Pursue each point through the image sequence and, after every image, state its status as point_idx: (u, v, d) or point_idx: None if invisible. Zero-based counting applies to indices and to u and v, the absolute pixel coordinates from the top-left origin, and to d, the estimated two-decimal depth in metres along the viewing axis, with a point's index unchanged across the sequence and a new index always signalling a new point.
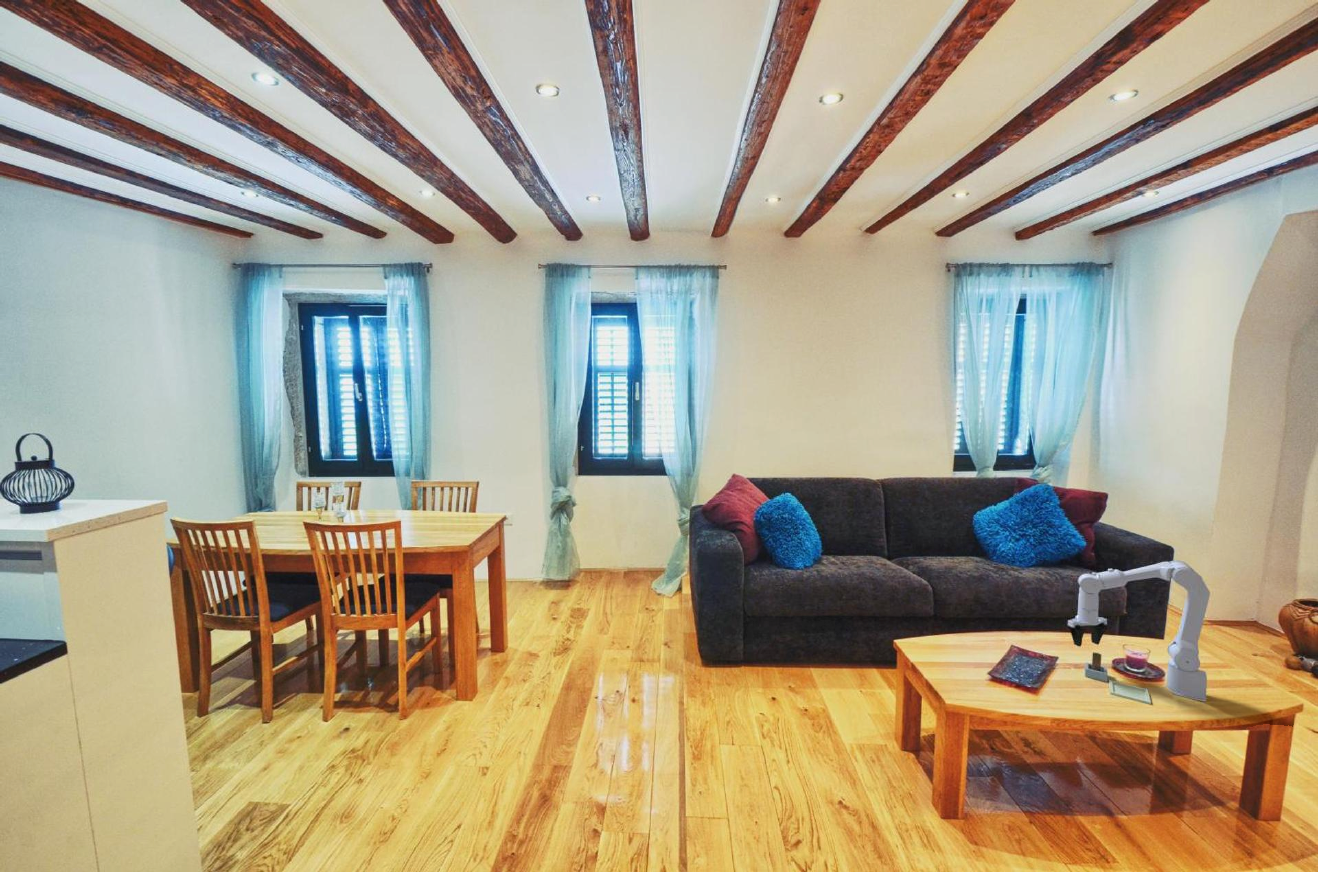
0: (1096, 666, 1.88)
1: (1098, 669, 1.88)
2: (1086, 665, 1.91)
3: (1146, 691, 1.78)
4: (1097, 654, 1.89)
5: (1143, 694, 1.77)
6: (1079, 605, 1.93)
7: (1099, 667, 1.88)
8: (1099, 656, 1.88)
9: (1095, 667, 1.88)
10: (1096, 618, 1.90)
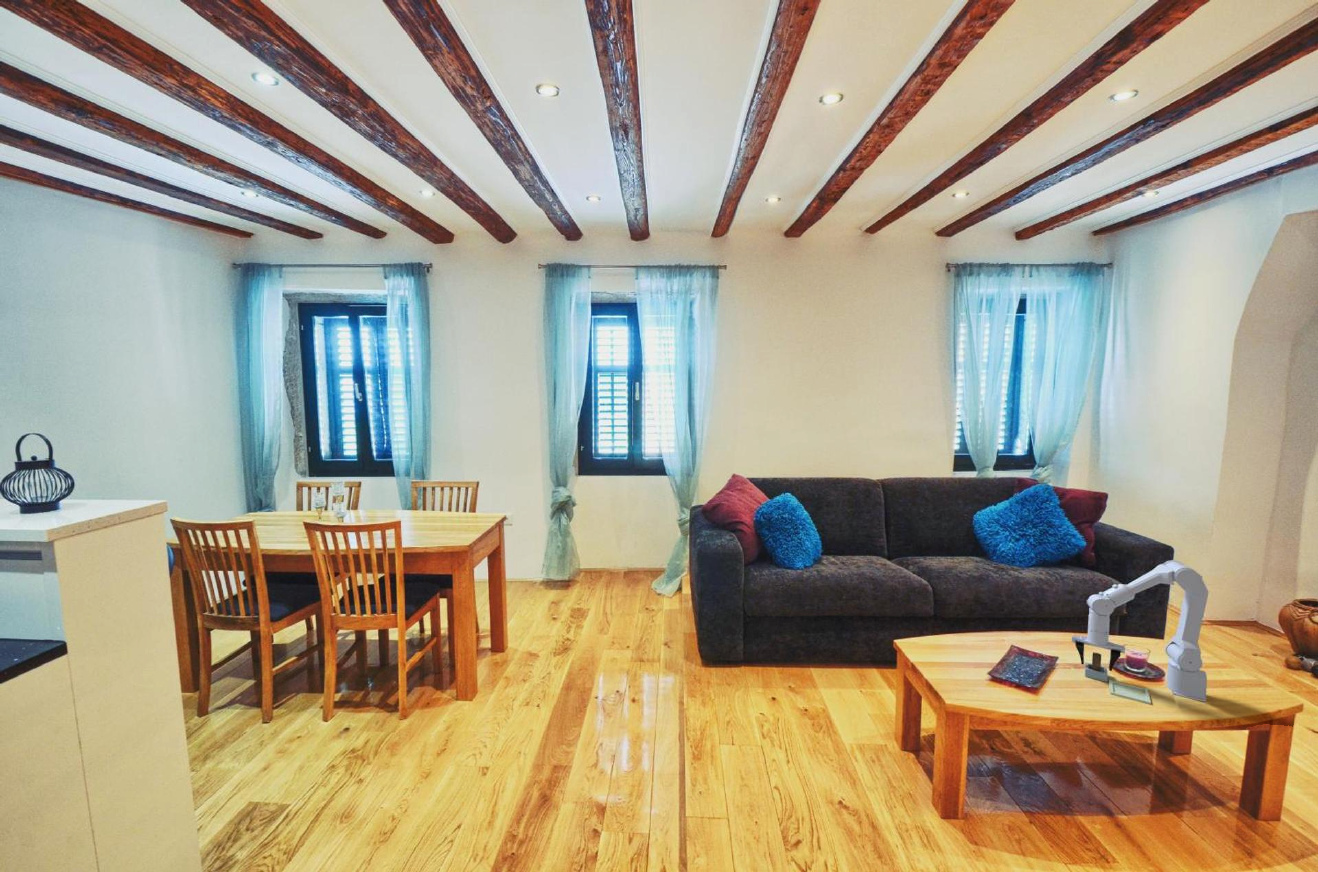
0: (1096, 666, 1.88)
1: (1098, 669, 1.88)
2: (1086, 665, 1.91)
3: (1146, 691, 1.78)
4: (1097, 654, 1.89)
5: (1143, 694, 1.77)
6: (1090, 627, 1.88)
7: (1099, 667, 1.88)
8: (1099, 656, 1.88)
9: (1095, 667, 1.88)
10: (1100, 640, 1.86)
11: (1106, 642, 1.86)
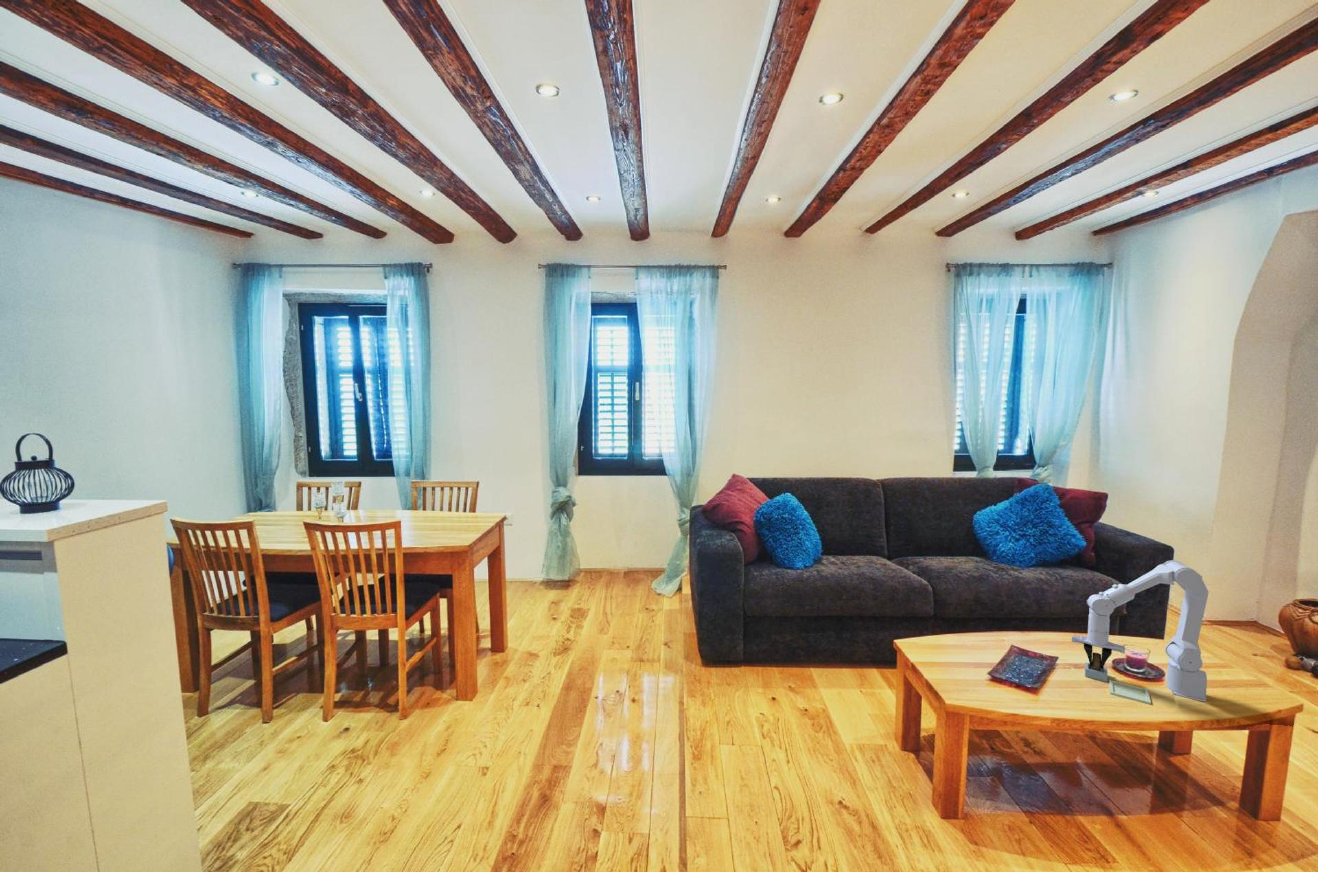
0: (1096, 666, 1.88)
1: (1098, 669, 1.88)
2: (1086, 665, 1.91)
3: (1146, 691, 1.78)
4: (1097, 654, 1.89)
5: (1143, 694, 1.77)
6: (1090, 627, 1.88)
7: (1099, 667, 1.88)
8: (1099, 656, 1.88)
9: (1095, 667, 1.88)
10: (1100, 640, 1.86)
11: (1106, 642, 1.86)
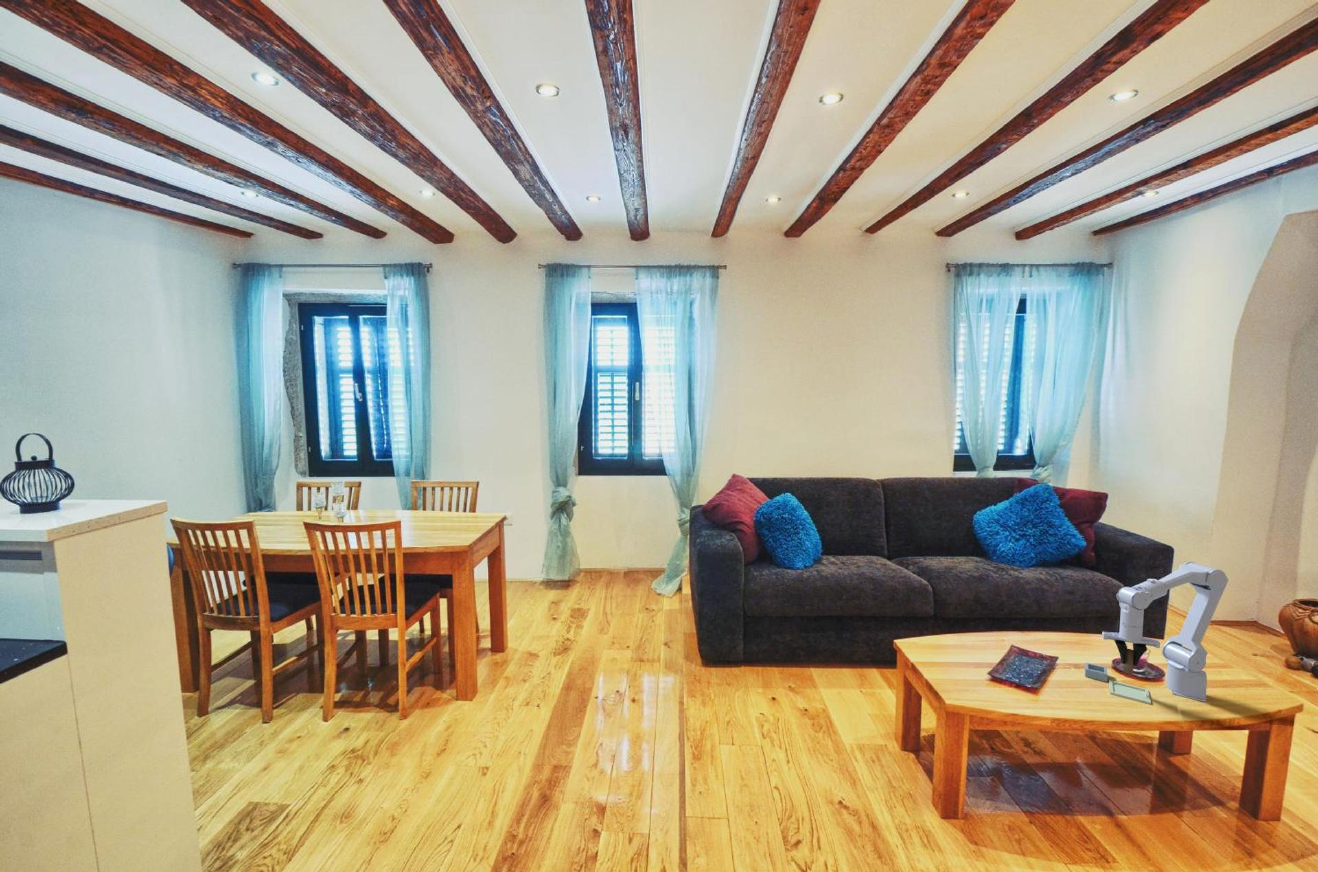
0: (1130, 663, 1.78)
1: (1132, 666, 1.77)
2: (1086, 665, 1.91)
3: (1146, 691, 1.78)
4: (1130, 650, 1.78)
5: (1143, 694, 1.77)
6: (1127, 623, 1.76)
7: (1133, 664, 1.78)
8: (1133, 652, 1.77)
9: (1129, 664, 1.78)
10: (1135, 636, 1.75)
11: (1141, 637, 1.75)
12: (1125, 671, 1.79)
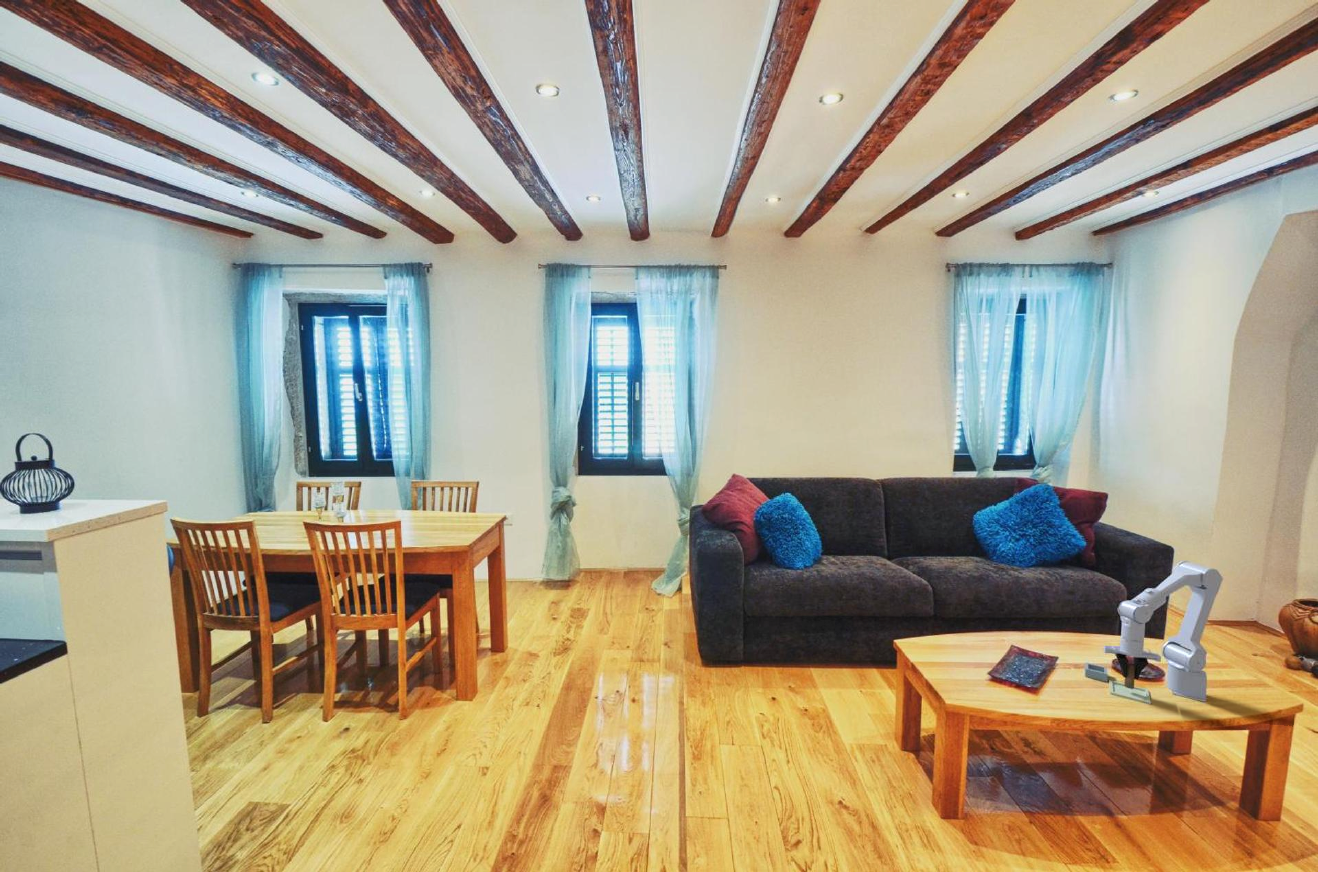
0: (1131, 677, 1.77)
1: (1133, 680, 1.77)
2: (1086, 665, 1.91)
3: (1146, 691, 1.78)
4: (1131, 664, 1.78)
5: (1143, 694, 1.77)
6: (1128, 637, 1.76)
7: (1134, 678, 1.77)
8: (1134, 666, 1.77)
9: (1130, 678, 1.77)
10: (1137, 650, 1.75)
11: (1142, 651, 1.75)
12: (1126, 685, 1.78)
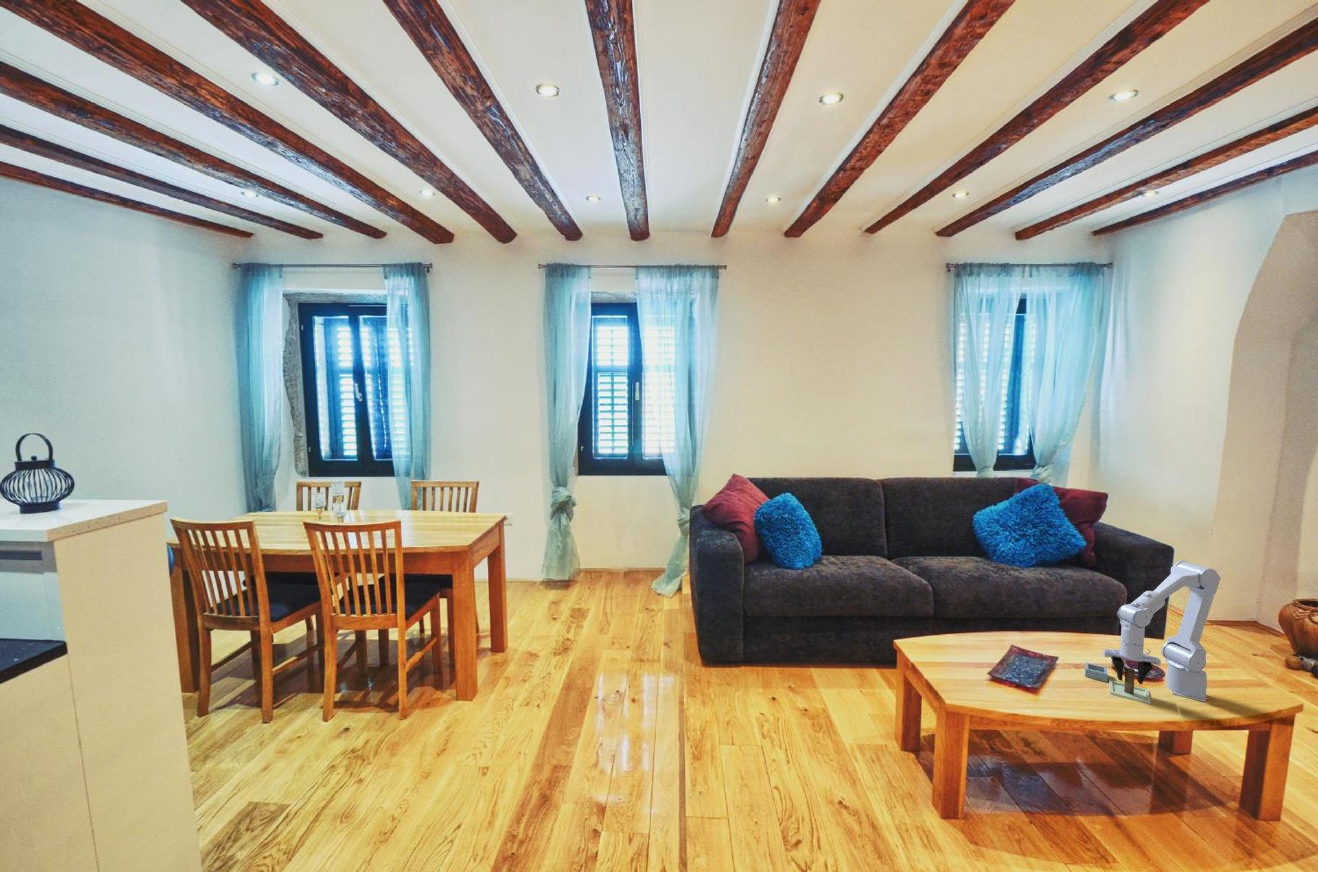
0: (1131, 682, 1.77)
1: (1133, 685, 1.77)
2: (1086, 665, 1.91)
3: (1146, 691, 1.78)
4: (1130, 669, 1.78)
5: (1143, 694, 1.77)
6: (1128, 641, 1.76)
7: (1133, 683, 1.77)
8: (1133, 671, 1.77)
9: (1130, 684, 1.77)
10: (1137, 653, 1.75)
11: (1142, 655, 1.75)
12: (1126, 690, 1.78)
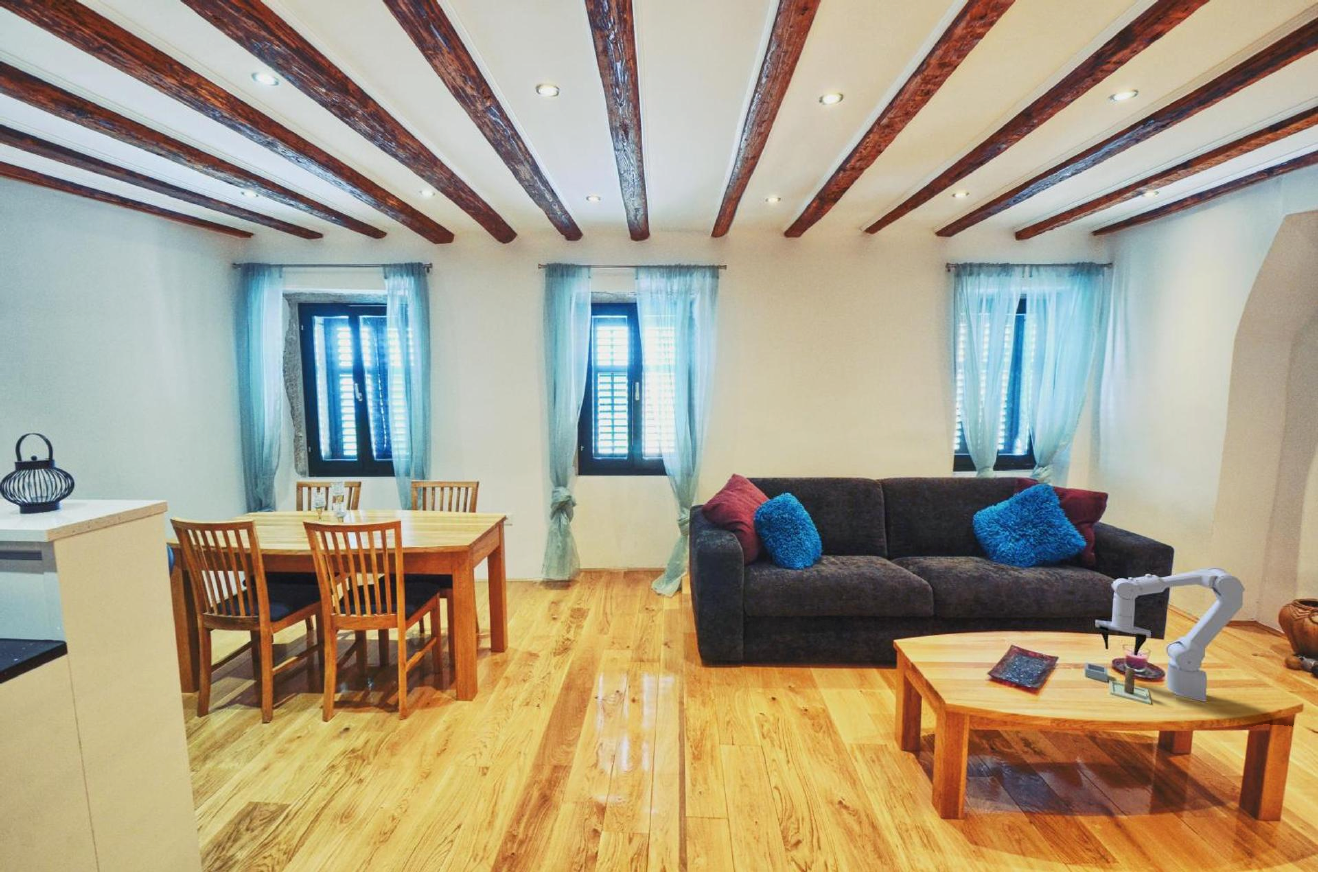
0: (1131, 682, 1.77)
1: (1133, 685, 1.77)
2: (1086, 665, 1.91)
3: (1146, 691, 1.78)
4: (1131, 670, 1.78)
5: (1143, 694, 1.77)
6: (1114, 611, 1.86)
7: None
8: (1134, 672, 1.77)
9: (1130, 684, 1.77)
10: (1125, 624, 1.84)
11: (1131, 626, 1.84)
12: (1126, 690, 1.78)
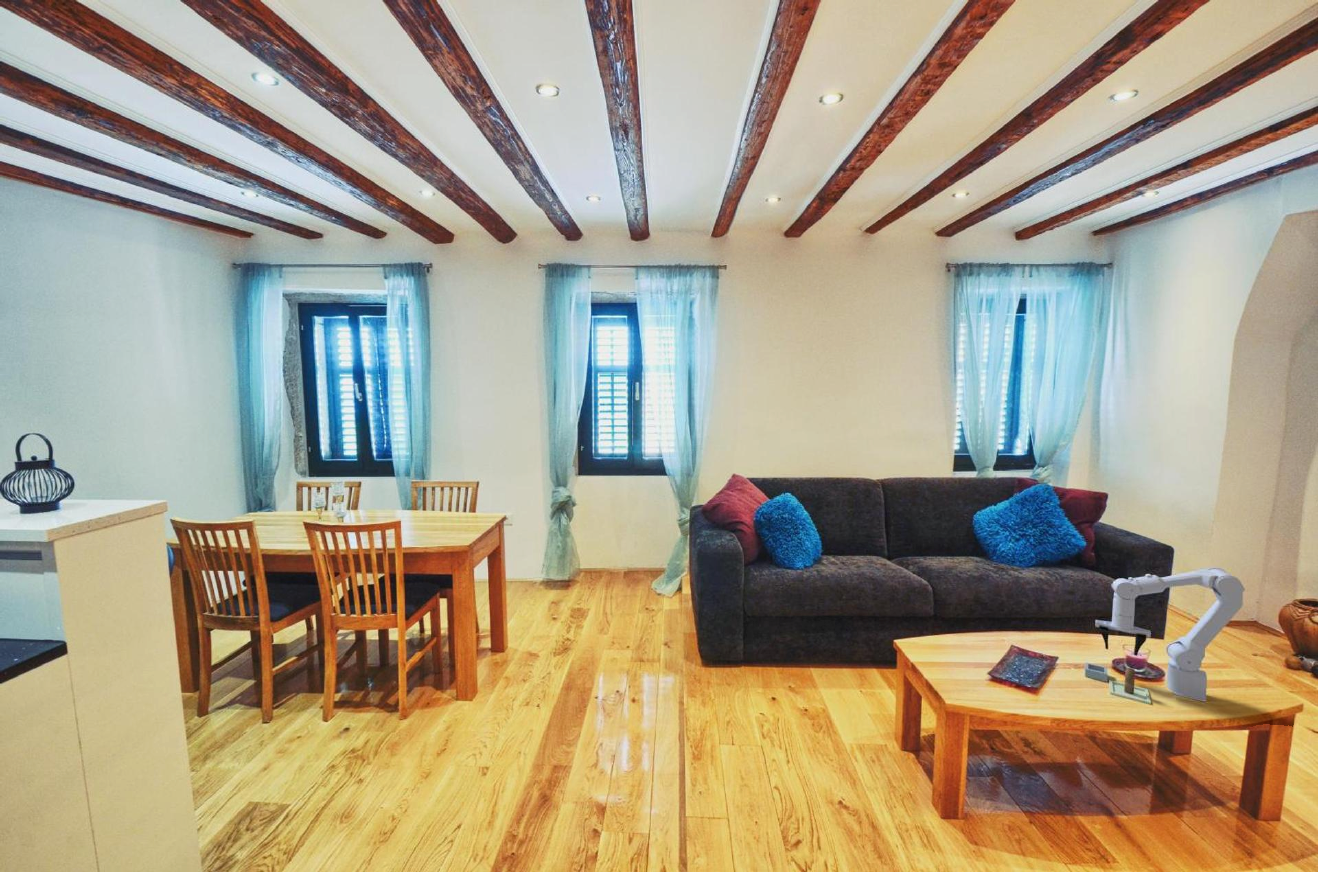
0: (1131, 682, 1.77)
1: (1133, 685, 1.77)
2: (1086, 665, 1.91)
3: (1146, 691, 1.78)
4: (1131, 669, 1.78)
5: (1143, 694, 1.77)
6: (1114, 611, 1.86)
7: None
8: (1134, 672, 1.77)
9: (1130, 684, 1.77)
10: (1125, 624, 1.84)
11: (1131, 626, 1.84)
12: (1126, 690, 1.78)
